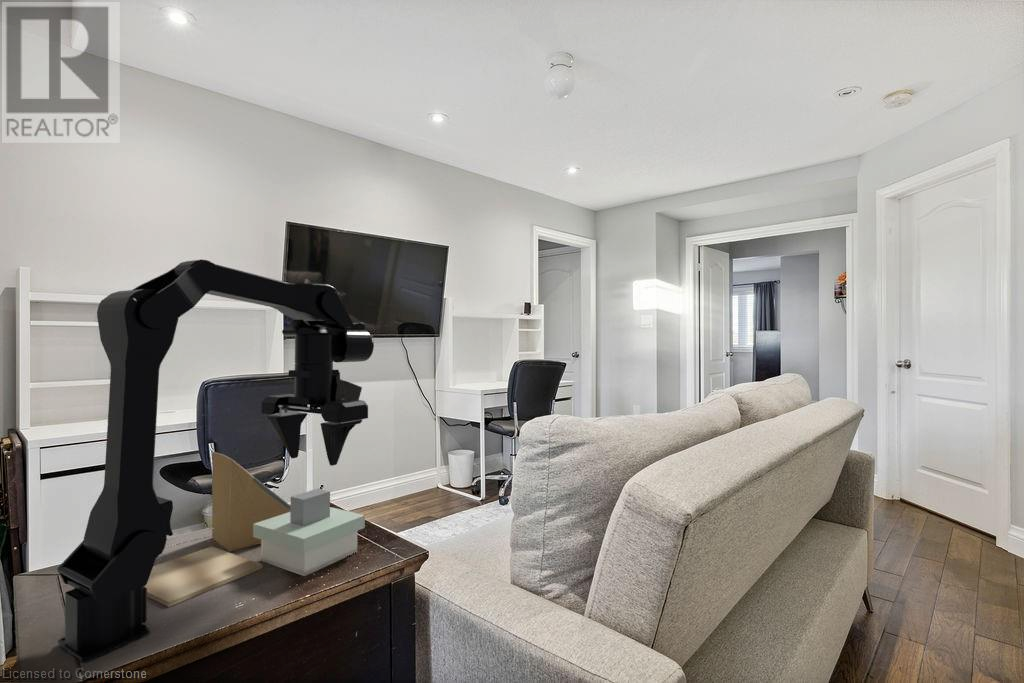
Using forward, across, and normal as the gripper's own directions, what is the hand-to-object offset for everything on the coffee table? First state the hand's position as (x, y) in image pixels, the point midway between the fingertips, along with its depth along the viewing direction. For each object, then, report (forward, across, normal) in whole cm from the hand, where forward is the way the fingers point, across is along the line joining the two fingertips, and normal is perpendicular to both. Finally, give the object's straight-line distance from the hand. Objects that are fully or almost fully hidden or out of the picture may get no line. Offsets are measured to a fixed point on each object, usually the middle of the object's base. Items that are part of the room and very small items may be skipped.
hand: (313, 461), depth 83 cm
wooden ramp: (+15, +14, -2) cm, 21 cm away
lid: (+11, -1, +1) cm, 11 cm away
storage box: (+14, -1, +1) cm, 15 cm away
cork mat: (+15, +8, +14) cm, 22 cm away
